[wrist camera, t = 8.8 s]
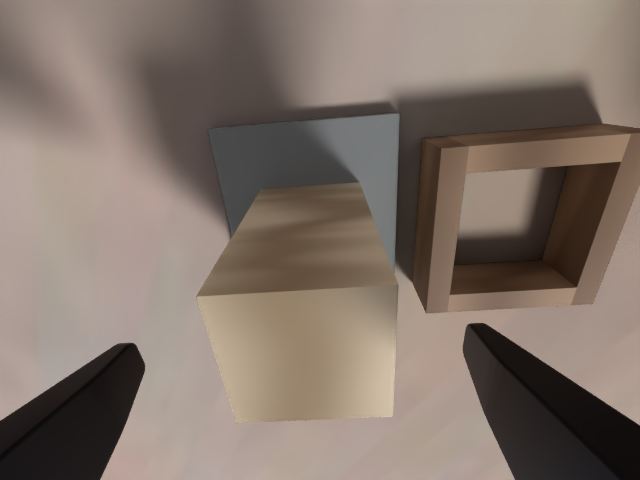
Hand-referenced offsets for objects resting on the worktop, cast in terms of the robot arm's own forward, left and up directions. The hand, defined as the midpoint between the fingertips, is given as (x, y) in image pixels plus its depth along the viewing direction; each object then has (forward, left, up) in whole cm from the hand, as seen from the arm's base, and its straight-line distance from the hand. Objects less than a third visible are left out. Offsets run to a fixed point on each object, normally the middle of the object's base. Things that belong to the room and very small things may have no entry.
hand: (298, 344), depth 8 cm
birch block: (0, 0, -7) cm, 7 cm away
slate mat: (0, 0, -8) cm, 8 cm away
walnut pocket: (-9, 0, -8) cm, 12 cm away
